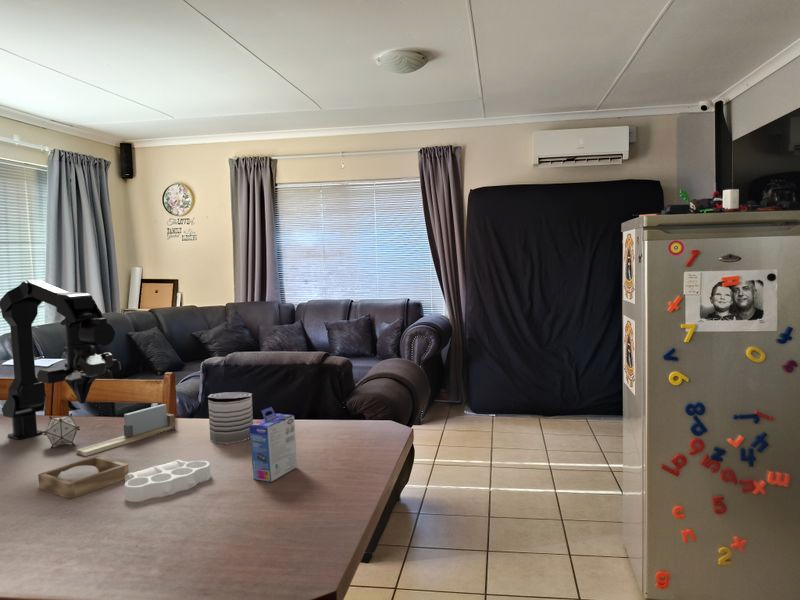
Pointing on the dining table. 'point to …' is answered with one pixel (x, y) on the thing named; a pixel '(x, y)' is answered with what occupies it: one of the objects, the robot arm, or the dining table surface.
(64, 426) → the game die
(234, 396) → the can
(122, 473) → the garlic tray
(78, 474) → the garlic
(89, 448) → the rail
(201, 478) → the white brass knuckles
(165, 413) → the panel
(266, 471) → the ink cartridge box
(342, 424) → the dining table surface
